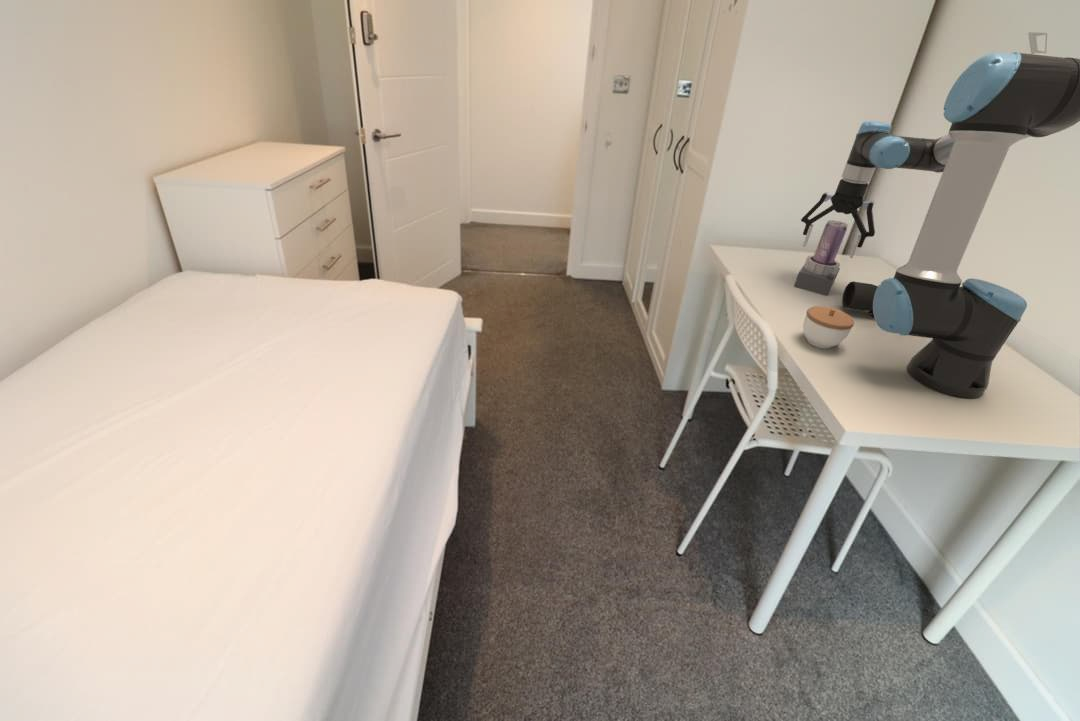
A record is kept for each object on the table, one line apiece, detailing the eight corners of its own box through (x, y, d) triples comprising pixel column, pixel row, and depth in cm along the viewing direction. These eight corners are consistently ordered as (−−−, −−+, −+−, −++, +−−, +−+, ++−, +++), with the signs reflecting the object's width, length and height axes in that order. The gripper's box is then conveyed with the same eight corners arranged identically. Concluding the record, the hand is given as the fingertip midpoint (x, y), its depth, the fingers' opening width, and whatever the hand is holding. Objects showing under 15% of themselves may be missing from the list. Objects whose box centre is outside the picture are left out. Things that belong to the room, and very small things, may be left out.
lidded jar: (848, 356, 124) (864, 322, 119) (802, 349, 126) (816, 316, 121) (835, 335, 133) (849, 303, 128) (792, 329, 135) (805, 297, 130)
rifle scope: (947, 333, 140) (966, 300, 134) (847, 318, 143) (861, 286, 138) (930, 316, 148) (947, 285, 143) (836, 303, 152) (849, 272, 147)
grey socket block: (827, 295, 156) (837, 271, 152) (793, 286, 161) (802, 262, 156) (834, 282, 166) (843, 259, 162) (802, 274, 171) (810, 251, 166)
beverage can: (833, 271, 160) (852, 224, 152) (823, 274, 157) (842, 227, 149) (815, 265, 164) (833, 219, 156) (805, 267, 161) (823, 221, 153)
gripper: (904, 187, 143) (873, 258, 155) (811, 170, 154) (788, 238, 166) (903, 191, 138) (871, 265, 149) (806, 174, 149) (783, 244, 160)
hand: (827, 251), depth 157 cm, fingers open, 13 cm apart
